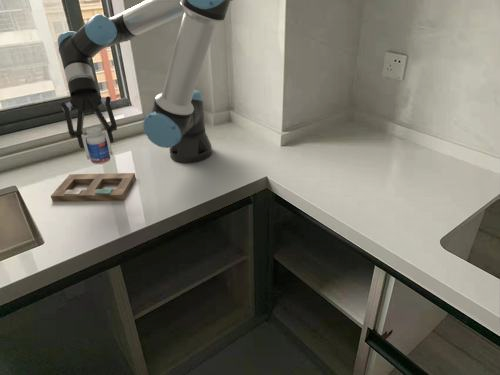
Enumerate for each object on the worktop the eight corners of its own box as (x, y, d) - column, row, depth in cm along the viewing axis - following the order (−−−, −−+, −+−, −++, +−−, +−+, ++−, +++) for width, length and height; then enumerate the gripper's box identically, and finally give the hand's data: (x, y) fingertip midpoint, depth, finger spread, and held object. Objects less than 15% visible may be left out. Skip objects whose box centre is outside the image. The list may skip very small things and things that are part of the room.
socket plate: (135, 178, 118) (134, 172, 117) (123, 200, 107) (122, 193, 106) (71, 179, 119) (69, 173, 118) (52, 201, 108) (50, 195, 106)
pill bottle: (104, 165, 105) (96, 133, 100) (87, 164, 106) (79, 132, 101) (114, 157, 110) (107, 126, 105) (98, 155, 111) (90, 125, 106)
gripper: (114, 85, 114) (133, 153, 110) (49, 94, 108) (67, 166, 104) (113, 71, 108) (133, 144, 103) (43, 80, 101) (62, 157, 97)
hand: (100, 155), depth 103 cm, fingers closed on pill bottle, 5 cm apart
